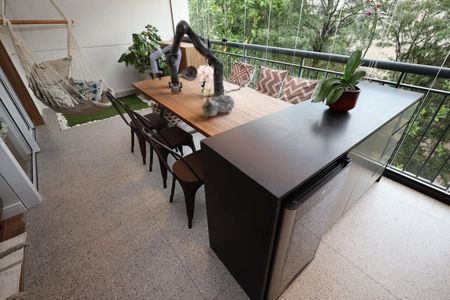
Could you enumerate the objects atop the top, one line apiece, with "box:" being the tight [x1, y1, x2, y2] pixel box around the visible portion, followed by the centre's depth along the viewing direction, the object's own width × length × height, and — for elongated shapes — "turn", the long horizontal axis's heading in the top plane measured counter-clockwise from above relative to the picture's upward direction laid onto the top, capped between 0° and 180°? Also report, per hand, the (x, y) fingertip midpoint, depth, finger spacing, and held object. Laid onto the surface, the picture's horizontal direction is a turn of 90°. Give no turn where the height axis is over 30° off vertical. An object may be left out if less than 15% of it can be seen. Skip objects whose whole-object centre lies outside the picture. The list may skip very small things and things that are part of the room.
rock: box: [200, 95, 236, 118], centre depth 162 cm, size 17×17×28 cm
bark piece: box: [178, 65, 198, 81], centre depth 260 cm, size 19×8×30 cm
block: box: [173, 88, 180, 95], centre depth 210 cm, size 4×5×4 cm
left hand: (156, 80), depth 217 cm, fingers open, 7 cm apart
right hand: (176, 92), depth 210 cm, fingers open, 7 cm apart
